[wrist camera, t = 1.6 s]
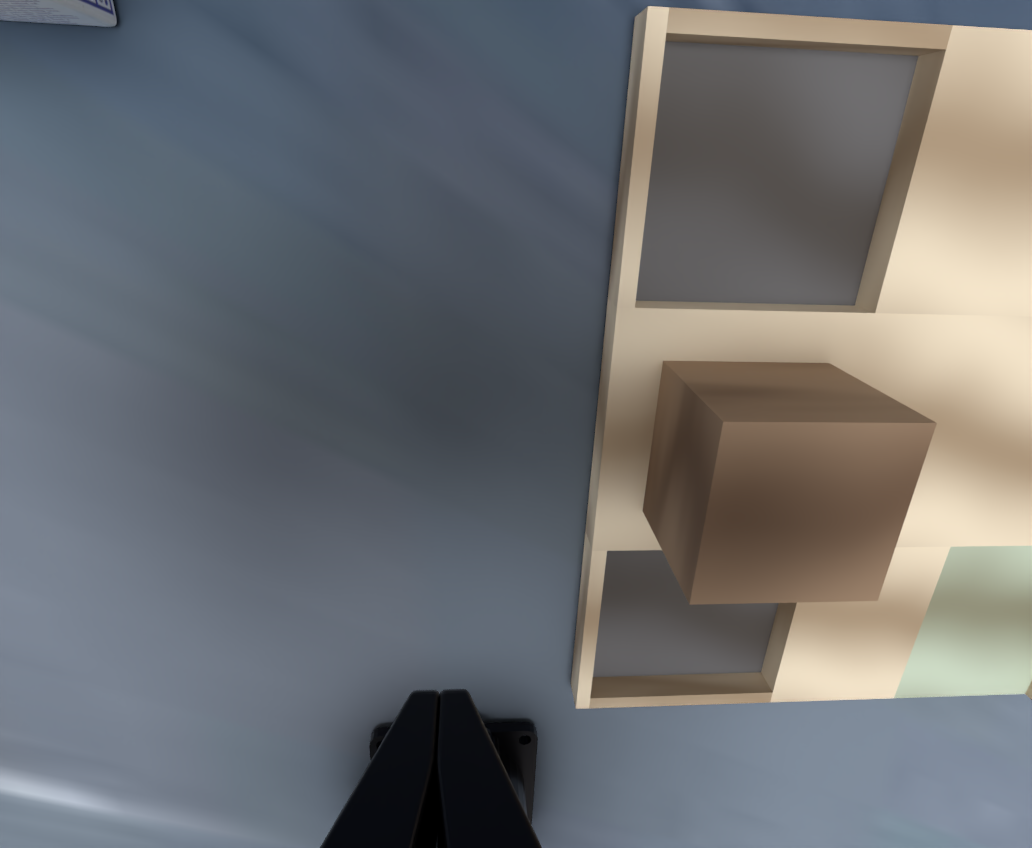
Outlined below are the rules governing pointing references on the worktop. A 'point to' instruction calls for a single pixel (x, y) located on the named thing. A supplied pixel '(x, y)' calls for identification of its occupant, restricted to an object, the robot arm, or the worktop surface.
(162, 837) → the worktop surface
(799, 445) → the walnut block
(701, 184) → the trap board
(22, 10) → the medicine box
